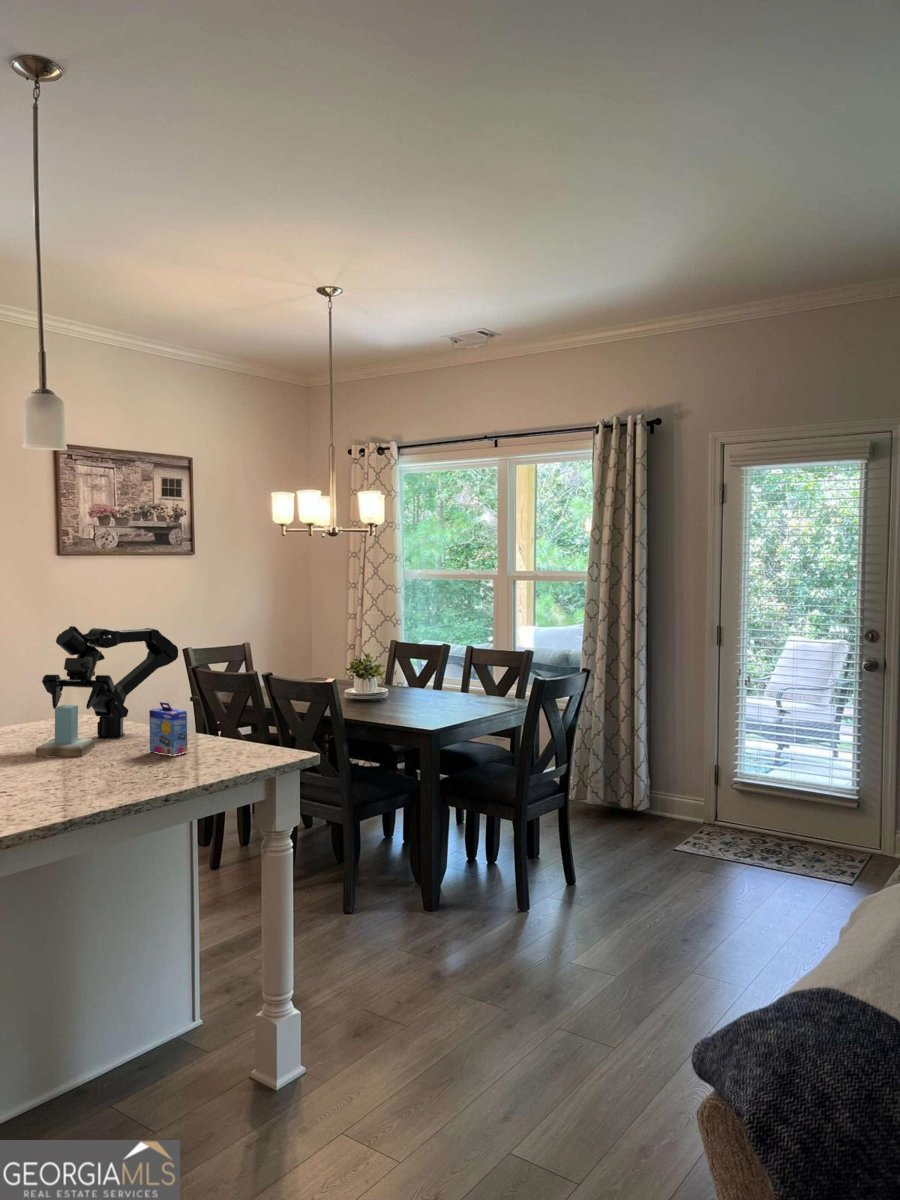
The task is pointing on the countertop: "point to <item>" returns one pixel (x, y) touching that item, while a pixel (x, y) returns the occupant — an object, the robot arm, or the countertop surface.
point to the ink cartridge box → (168, 730)
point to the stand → (65, 748)
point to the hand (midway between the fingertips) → (70, 708)
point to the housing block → (66, 724)
